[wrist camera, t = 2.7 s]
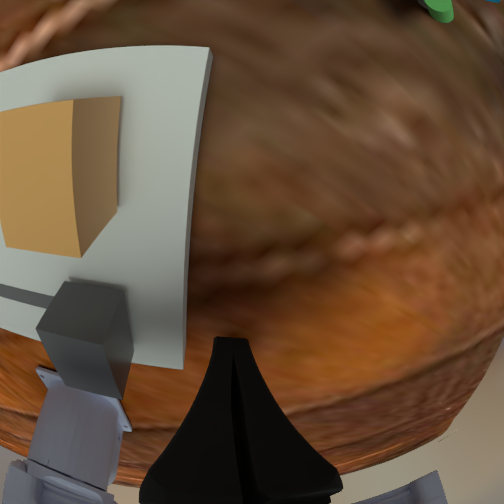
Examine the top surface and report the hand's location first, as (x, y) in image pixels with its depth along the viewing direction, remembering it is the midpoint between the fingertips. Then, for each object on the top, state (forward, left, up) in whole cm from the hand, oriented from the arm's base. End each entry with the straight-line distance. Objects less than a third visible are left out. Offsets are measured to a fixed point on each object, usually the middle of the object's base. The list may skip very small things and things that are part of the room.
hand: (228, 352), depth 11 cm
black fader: (0, +6, -1) cm, 6 cm away
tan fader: (+7, +6, -1) cm, 10 cm away
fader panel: (+4, +13, -3) cm, 14 cm away
